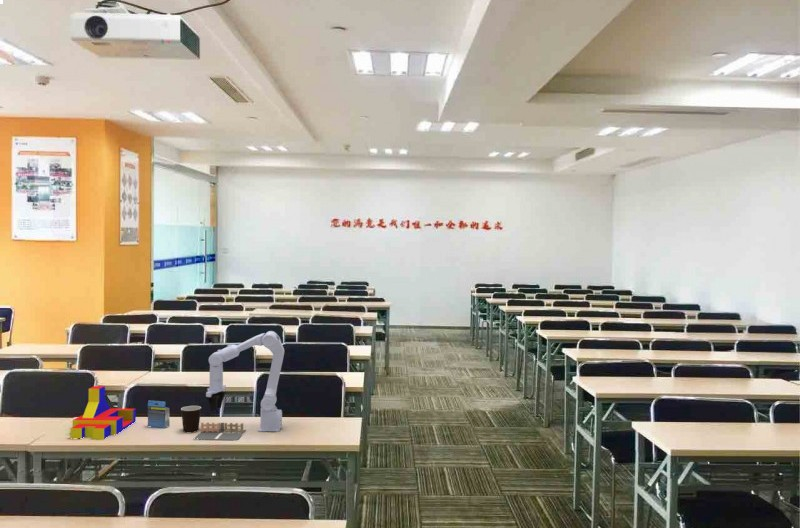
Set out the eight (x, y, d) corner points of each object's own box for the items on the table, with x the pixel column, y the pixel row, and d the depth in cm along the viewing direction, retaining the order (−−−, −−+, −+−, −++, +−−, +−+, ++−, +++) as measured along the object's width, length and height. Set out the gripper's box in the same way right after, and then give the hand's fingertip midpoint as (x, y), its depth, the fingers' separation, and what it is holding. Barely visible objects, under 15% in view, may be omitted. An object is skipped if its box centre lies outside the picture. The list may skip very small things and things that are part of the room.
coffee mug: (196, 433, 254) (197, 411, 254) (177, 433, 254) (177, 410, 254) (206, 425, 266) (206, 404, 265) (187, 425, 266) (187, 403, 266)
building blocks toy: (64, 439, 244) (64, 396, 244) (95, 422, 269) (95, 383, 269) (109, 440, 244) (109, 397, 244) (135, 422, 269) (135, 383, 269)
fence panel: (219, 431, 255) (219, 422, 255) (219, 432, 254) (219, 423, 254) (201, 431, 255) (201, 422, 255) (200, 432, 254) (200, 423, 254)
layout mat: (246, 430, 259) (246, 429, 259) (237, 440, 245) (237, 439, 245) (204, 429, 259) (204, 429, 259) (192, 439, 245) (192, 439, 245)
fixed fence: (243, 432, 256) (243, 422, 256) (242, 434, 254) (242, 423, 254) (220, 432, 256) (220, 422, 256) (219, 433, 254) (219, 423, 254)
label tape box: (169, 426, 264) (170, 399, 264) (165, 428, 260) (165, 401, 260) (152, 424, 266) (152, 398, 265) (147, 427, 262) (147, 400, 261)
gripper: (215, 375, 267) (215, 404, 267) (199, 382, 252) (199, 413, 253) (230, 376, 266) (229, 405, 266) (214, 383, 251) (214, 414, 252)
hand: (215, 409), depth 259 cm, fingers open, 4 cm apart
